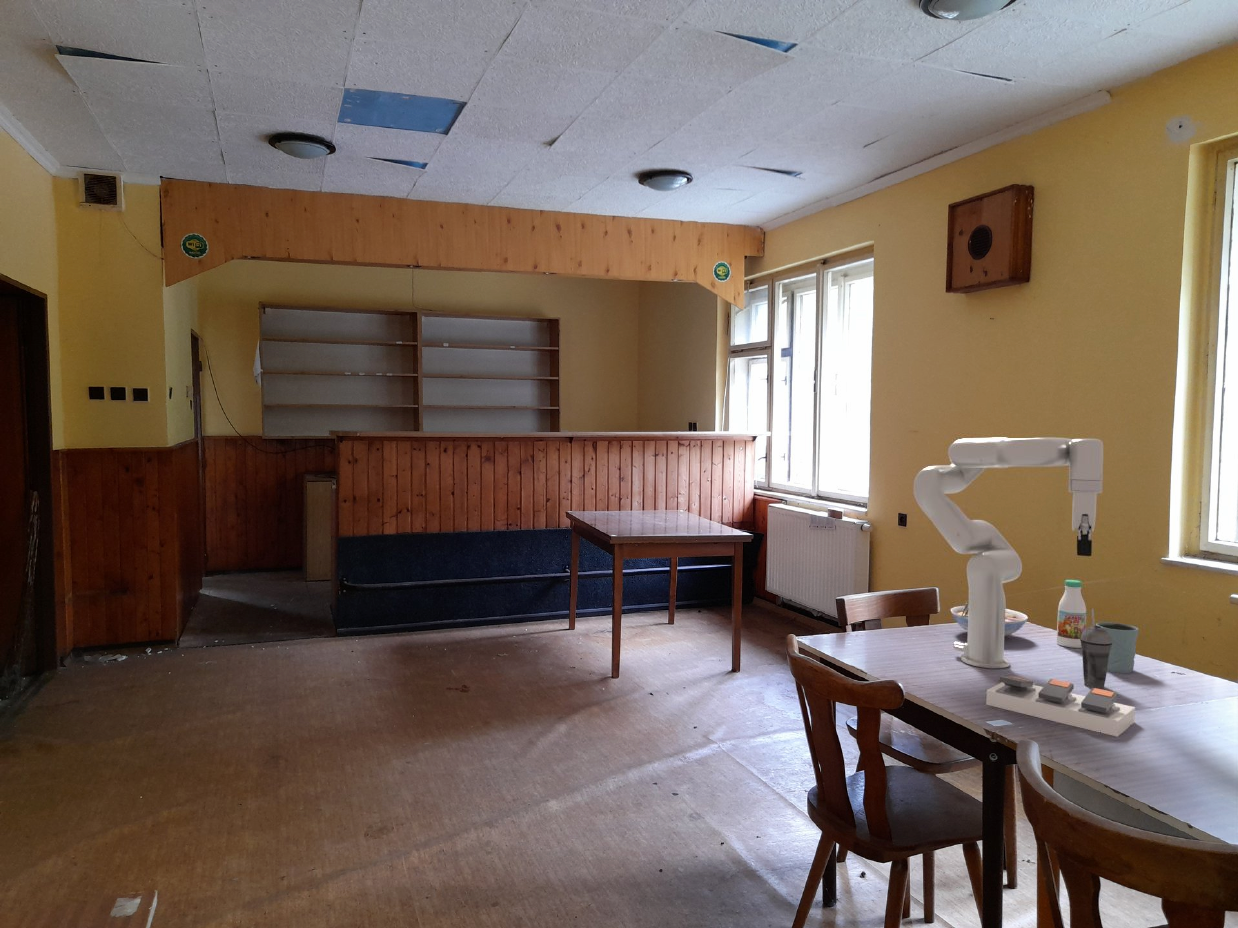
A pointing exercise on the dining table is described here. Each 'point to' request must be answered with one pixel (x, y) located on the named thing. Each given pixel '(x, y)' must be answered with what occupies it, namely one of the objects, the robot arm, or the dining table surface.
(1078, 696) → the rocker switch panel
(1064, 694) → the middle rocker
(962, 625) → the ramen bowl
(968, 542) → the robot arm
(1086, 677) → the beverage cup
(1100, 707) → the right rocker
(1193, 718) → the dining table surface
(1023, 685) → the left rocker
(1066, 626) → the milk bottle
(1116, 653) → the teal plant pot
